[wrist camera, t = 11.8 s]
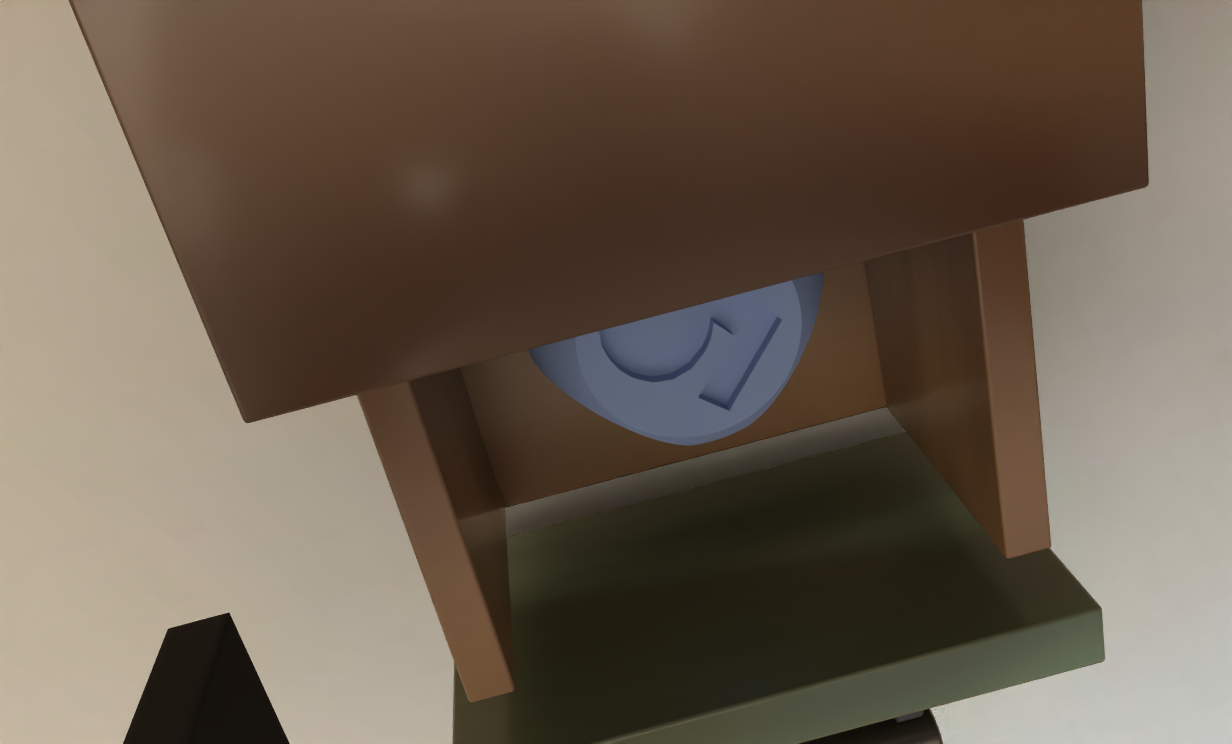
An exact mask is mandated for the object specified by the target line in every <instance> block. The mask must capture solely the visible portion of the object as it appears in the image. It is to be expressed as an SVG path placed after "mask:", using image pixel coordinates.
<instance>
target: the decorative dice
mask: <svg viewBox="0 0 1232 744" xmlns="http://www.w3.org/2000/svg"><path fill="white" fill-rule="evenodd" d="M822 286H823V272H822V273H818V274H814V275H810V276H806V277H803V278H799V279H795V280H791V281H787V282H784V283H780V284H776V285H772V286H768V287H764V288H761V289H757V290H753V291H749V292H745V293H742V294H738V295H734V296H730V297H726V298H723V299H719V300H715V301H711V302H707V303H704V304H700V305H696V306H692V307H688V308H685V309H681V310H677V311H673V312H669V313H666V314H662V315H658V316H654V317H650V318H647V319H643V320H639V321H635V322H631V323H628V324H624V325H620V326H616V327H612V328H609V329H605V330H601V331H597V332H593V333H590V334H586V335H582V336H578V337H574V338H570V339H567V340H563V341H559V342H555V343H551V344H548V345H544V346H540V347H536V348H532V349H529V350H528V351H529V353H530V355H531V358H532V359H533V361H534V363H535V364H536V365H537V367H538V368H539V369H540V370H541V371H542V372H543V374H544V375H545V376H546V377H547V378H548V379H549V380H551V381H552V382H553V383H554V384H555V385H556V386H557V387H559V388H560V389H561V390H562V391H564V392H565V393H566V394H567V395H569V396H570V397H572V398H573V399H574V400H576V401H577V402H579V403H580V404H582V405H583V406H585V407H587V408H588V409H590V410H591V411H593V412H595V413H596V414H598V415H600V416H602V417H604V418H605V419H607V420H609V421H611V422H613V423H615V424H617V425H619V426H622V427H624V428H626V429H628V430H631V431H633V432H635V433H638V434H640V435H643V436H646V437H649V438H652V439H655V440H658V441H662V442H666V443H671V444H676V445H688V446H690V445H698V444H703V443H707V442H711V441H715V440H718V439H721V438H724V437H727V436H729V435H731V434H733V433H735V432H737V431H740V430H742V429H744V428H746V427H747V426H749V425H750V424H752V423H753V422H754V421H756V420H757V419H758V418H759V417H760V416H761V415H762V414H763V413H764V412H765V411H766V410H767V409H768V408H769V407H770V405H771V404H772V403H773V402H774V401H775V399H776V398H777V397H778V395H779V394H780V392H781V391H782V390H783V388H784V387H785V385H786V383H787V382H788V380H789V379H790V377H791V375H792V373H793V372H794V370H795V368H796V366H797V364H798V362H799V360H800V358H801V356H802V354H803V352H804V350H805V347H806V345H807V343H808V340H809V338H810V335H811V332H812V330H813V327H814V323H815V320H816V317H817V313H818V310H819V305H820V300H821V294H822Z"/></svg>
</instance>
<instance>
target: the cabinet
mask: <svg viewBox="0 0 1232 744" xmlns="http://www.w3.org/2000/svg"><path fill="white" fill-rule="evenodd" d="M69 3H70V5H71V7H72V10H73V12H74V15H75V17H76V19H77V22H78V24H79V27H80V29H81V31H82V34H83V36H84V39H85V41H86V43H87V46H88V48H89V51H90V53H91V55H92V58H93V60H94V63H95V65H96V67H97V70H98V72H99V75H100V77H101V79H102V82H103V84H104V87H105V89H106V91H107V94H108V96H109V99H110V101H111V103H112V106H113V108H114V111H115V113H116V115H117V118H118V120H119V123H120V125H121V127H122V130H123V132H124V135H125V137H126V140H127V142H128V144H129V147H130V149H131V152H132V154H133V156H134V159H135V161H136V164H137V166H138V168H139V171H140V173H141V176H142V178H143V180H144V183H145V185H146V188H147V190H148V192H149V195H150V197H151V200H152V202H153V204H154V207H155V209H156V212H157V214H158V216H159V219H160V221H161V224H162V226H163V228H164V231H165V233H166V236H167V238H168V240H169V243H170V245H171V248H172V250H173V252H174V255H175V257H176V260H177V262H178V264H179V267H180V269H181V272H182V274H183V276H184V279H185V281H186V284H187V286H188V288H189V291H190V293H191V296H192V298H193V300H194V303H195V305H196V308H197V310H198V312H199V315H200V317H201V320H202V322H203V324H204V327H205V329H206V332H207V334H208V337H209V339H210V341H211V344H212V346H213V349H214V351H215V353H216V356H217V358H218V361H219V363H220V365H221V368H222V370H223V373H224V375H225V377H226V380H227V382H228V385H229V387H230V389H231V392H232V394H233V397H234V399H235V401H236V404H237V406H238V409H239V411H240V413H241V416H242V418H243V420H244V421H245V422H246V423H251V422H255V421H259V420H262V419H266V418H270V417H274V416H278V415H281V414H285V413H289V412H293V411H297V410H300V409H304V408H308V407H312V406H316V405H319V404H323V403H327V402H331V401H335V400H338V399H342V398H346V397H350V396H354V395H357V394H361V393H365V392H369V391H373V390H376V389H380V388H384V387H388V386H392V385H395V384H399V383H403V382H407V381H411V380H415V379H418V378H422V377H426V376H430V375H434V374H437V373H441V372H445V371H449V370H453V369H456V368H460V367H464V366H468V365H472V364H475V363H479V362H483V361H487V360H491V359H494V358H498V357H502V356H506V355H510V354H513V353H517V352H521V351H525V350H529V349H532V348H536V347H540V346H544V345H548V344H551V343H555V342H559V341H563V340H567V339H570V338H574V337H578V336H582V335H586V334H590V333H593V332H597V331H601V330H605V329H609V328H612V327H616V326H620V325H624V324H628V323H631V322H635V321H639V320H643V319H647V318H650V317H654V316H658V315H662V314H666V313H669V312H673V311H677V310H681V309H685V308H688V307H692V306H696V305H700V304H704V303H707V302H711V301H715V300H719V299H723V298H726V297H730V296H734V295H738V294H742V293H745V292H749V291H753V290H757V289H761V288H764V287H768V286H772V285H776V284H780V283H784V282H787V281H791V280H795V279H799V278H803V277H806V276H810V275H814V274H818V273H822V272H825V271H829V270H833V269H837V268H841V267H844V266H848V265H852V264H856V263H860V262H863V261H867V260H871V259H875V258H879V257H882V256H886V255H890V254H894V253H898V252H901V251H905V250H909V249H913V248H917V247H920V246H924V245H928V244H932V243H936V242H939V241H943V240H947V239H951V238H955V237H958V236H962V235H966V234H970V233H974V232H978V231H981V230H985V229H989V228H993V227H997V226H1000V225H1004V224H1008V223H1012V222H1016V221H1019V220H1023V219H1027V218H1031V217H1035V216H1038V215H1042V214H1046V213H1050V212H1054V211H1057V210H1061V209H1065V208H1069V207H1073V206H1076V205H1080V204H1084V203H1088V202H1092V201H1095V200H1099V199H1103V198H1107V197H1111V196H1114V195H1118V194H1122V193H1126V192H1130V191H1133V190H1137V189H1141V188H1145V187H1146V186H1148V183H1149V177H1148V149H1147V122H1146V95H1145V68H1144V41H1143V14H1142V0H69Z"/></svg>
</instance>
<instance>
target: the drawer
mask: <svg viewBox="0 0 1232 744" xmlns="http://www.w3.org/2000/svg"><path fill="white" fill-rule="evenodd" d="M357 396H358V399H359V402H360V405H361V407H362V410H363V413H364V416H365V418H366V421H367V424H368V427H369V429H370V432H371V435H372V438H373V440H374V443H375V446H376V448H377V451H378V454H379V457H380V459H381V462H382V465H383V468H384V470H385V473H386V476H387V479H388V481H389V484H390V487H391V490H392V492H393V495H394V498H395V501H396V503H397V506H398V509H399V511H400V514H401V517H402V520H403V522H404V525H405V528H406V531H407V533H408V536H409V539H410V542H411V544H412V547H413V550H414V553H415V555H416V558H417V561H418V563H419V566H420V569H421V572H422V574H423V577H424V580H425V583H426V585H427V588H428V591H429V594H430V596H431V599H432V602H433V605H434V607H435V610H436V613H437V615H438V618H439V621H440V624H441V626H442V629H443V632H444V635H445V637H446V640H447V643H448V646H449V648H450V651H451V654H452V657H453V659H454V693H453V744H943V741H942V737H941V734H940V731H939V728H938V725H937V723H936V720H935V718H934V715H933V713H932V711H931V709H930V708H933V707H936V706H940V705H944V704H948V703H951V702H955V701H959V700H962V699H966V698H970V697H974V696H977V695H981V694H985V693H989V692H992V691H996V690H1000V689H1003V688H1007V687H1011V686H1015V685H1018V684H1022V683H1026V682H1029V681H1033V680H1037V679H1041V678H1044V677H1048V676H1052V675H1055V674H1059V673H1063V672H1067V671H1070V670H1074V669H1078V668H1081V667H1085V666H1089V665H1093V664H1096V663H1100V662H1103V661H1104V660H1105V652H1104V636H1103V621H1102V608H1101V607H1100V606H1099V604H1098V603H1097V602H1096V601H1095V600H1094V599H1093V597H1092V596H1091V595H1090V594H1089V593H1088V592H1087V591H1086V589H1085V588H1084V587H1083V586H1082V585H1081V584H1080V582H1079V581H1078V580H1077V579H1076V578H1075V577H1074V576H1073V574H1072V573H1071V572H1070V571H1069V570H1068V569H1067V568H1066V566H1065V565H1064V564H1063V563H1062V562H1061V561H1060V559H1059V558H1058V557H1057V556H1056V555H1055V554H1054V553H1053V551H1052V550H1051V549H1050V547H1051V539H1050V527H1049V515H1048V504H1047V492H1046V480H1045V468H1044V457H1043V445H1042V433H1041V422H1040V410H1039V398H1038V387H1037V375H1036V363H1035V351H1034V340H1033V328H1032V316H1031V305H1030V293H1029V281H1028V269H1027V258H1026V246H1025V234H1024V223H1023V220H1019V221H1016V222H1012V223H1008V224H1004V225H1000V226H997V227H993V228H989V229H985V230H981V231H978V232H974V233H970V234H966V235H962V236H958V237H955V238H951V239H947V240H943V241H939V242H936V243H932V244H928V245H924V246H920V247H917V248H913V249H909V250H905V251H901V252H898V253H894V254H890V255H886V256H882V257H879V258H875V259H871V260H867V261H863V262H860V263H856V264H852V265H848V266H844V267H841V268H837V269H833V270H829V271H825V272H823V286H822V294H821V300H820V305H819V310H818V313H817V317H816V320H815V323H814V327H813V330H812V332H811V335H810V338H809V340H808V343H807V345H806V347H805V350H804V352H803V354H802V356H801V358H800V360H799V362H798V364H797V366H796V368H795V370H794V372H793V373H792V375H791V377H790V379H789V380H788V382H787V383H786V385H785V387H784V388H783V390H782V391H781V392H780V394H779V395H778V397H777V398H776V399H775V401H774V402H773V403H772V404H771V405H770V407H769V408H768V409H767V410H766V411H765V412H764V413H763V414H762V415H761V416H760V417H759V418H758V419H757V420H756V421H754V422H753V423H752V424H750V425H749V426H747V427H746V428H744V429H742V430H740V431H737V432H735V433H733V434H731V435H729V436H727V437H724V438H721V439H718V440H715V441H711V442H707V443H703V444H698V445H690V446H688V445H676V444H671V443H666V442H662V441H658V440H655V439H652V438H649V437H646V436H643V435H640V434H638V433H635V432H633V431H631V430H628V429H626V428H624V427H622V426H619V425H617V424H615V423H613V422H611V421H609V420H607V419H605V418H604V417H602V416H600V415H598V414H596V413H595V412H593V411H591V410H590V409H588V408H587V407H585V406H583V405H582V404H580V403H579V402H577V401H576V400H574V399H573V398H572V397H570V396H569V395H567V394H566V393H565V392H564V391H562V390H561V389H560V388H559V387H557V386H556V385H555V384H554V383H553V382H552V381H551V380H549V379H548V378H547V377H546V376H545V375H544V374H543V372H542V371H541V370H540V369H539V368H538V367H537V365H536V364H535V363H534V361H533V359H532V358H531V355H530V353H529V351H528V350H525V351H521V352H517V353H513V354H510V355H506V356H502V357H498V358H494V359H491V360H487V361H483V362H479V363H475V364H472V365H468V366H464V367H460V368H456V369H453V370H449V371H445V372H441V373H437V374H434V375H430V376H426V377H422V378H418V379H415V380H411V381H407V382H403V383H399V384H395V385H392V386H388V387H384V388H380V389H376V390H373V391H369V392H365V393H361V394H357ZM884 407H887V408H888V409H889V410H890V412H891V413H892V414H893V416H894V417H895V418H896V419H897V421H898V422H899V423H900V424H901V426H902V427H903V428H904V429H905V431H906V432H902V433H898V434H894V435H891V436H887V437H883V438H879V439H875V440H872V441H868V442H864V443H860V444H857V445H853V446H849V447H845V448H842V449H838V450H834V451H830V452H826V453H823V454H819V455H815V456H811V457H808V458H804V459H800V460H796V461H793V462H789V463H785V464H781V465H777V466H774V467H770V468H766V469H762V470H759V471H755V472H751V473H747V474H744V475H740V476H736V477H732V478H728V479H725V480H721V481H717V482H713V483H710V484H706V485H702V486H698V487H695V488H691V489H687V490H683V491H679V492H676V493H672V494H668V495H664V496H661V497H657V498H653V499H649V500H646V501H642V502H638V503H634V504H630V505H627V506H623V507H619V508H615V509H612V510H608V511H604V512H600V513H596V514H593V515H589V516H585V517H581V518H578V519H574V520H570V521H566V522H563V523H559V524H555V525H551V526H547V527H544V528H540V529H536V530H532V531H529V532H525V533H521V534H517V535H514V536H510V537H506V520H505V508H506V507H510V506H514V505H517V504H521V503H525V502H529V501H533V500H536V499H540V498H544V497H548V496H551V495H555V494H559V493H563V492H567V491H570V490H574V489H578V488H582V487H585V486H589V485H593V484H597V483H601V482H604V481H608V480H612V479H616V478H619V477H623V476H627V475H631V474H635V473H638V472H642V471H646V470H650V469H653V468H657V467H661V466H665V465H668V464H672V463H676V462H680V461H684V460H687V459H691V458H695V457H699V456H702V455H706V454H710V453H714V452H718V451H721V450H725V449H729V448H733V447H736V446H740V445H744V444H748V443H752V442H755V441H759V440H763V439H767V438H770V437H774V436H778V435H782V434H786V433H789V432H793V431H797V430H801V429H804V428H808V427H812V426H816V425H819V424H823V423H827V422H831V421H835V420H838V419H842V418H846V417H850V416H853V415H857V414H861V413H865V412H869V411H872V410H876V409H880V408H884Z"/></svg>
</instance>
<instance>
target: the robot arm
mask: <svg viewBox="0 0 1232 744" xmlns="http://www.w3.org/2000/svg"><path fill="white" fill-rule="evenodd" d="M123 744H289V741H288V739H287V737H286V735H285V733H284V731H283V728H282V726H281V724H280V722H279V720H278V718H277V715H276V713H275V711H274V709H273V707H272V705H271V702H270V700H269V698H268V696H267V694H266V691H265V689H264V687H263V685H262V683H261V681H260V678H259V676H258V674H257V672H256V670H255V668H254V665H253V663H252V661H251V659H250V657H249V654H248V652H247V650H246V648H245V646H244V644H243V641H242V639H241V637H240V635H239V633H238V631H237V628H236V626H235V624H234V622H233V620H232V617H231V615H230V613H225V614H222V615H218V616H214V617H210V618H207V619H203V620H199V621H195V622H192V623H188V624H184V625H180V626H177V627H173V628H169V629H168V630H167V633H166V635H165V638H164V640H163V643H162V645H161V648H160V650H159V653H158V656H157V658H156V661H155V663H154V666H153V668H152V671H151V673H150V676H149V679H148V681H147V684H146V686H145V689H144V691H143V694H142V696H141V699H140V702H139V704H138V707H137V709H136V712H135V714H134V717H133V719H132V722H131V725H130V727H129V730H128V732H127V735H126V737H125V740H124V742H123Z"/></svg>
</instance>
